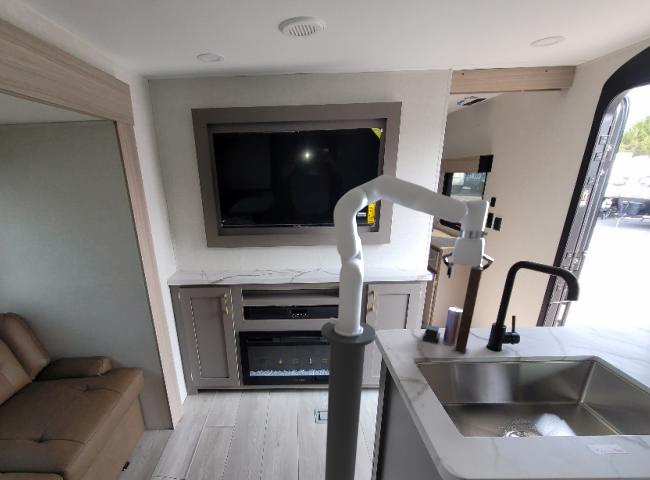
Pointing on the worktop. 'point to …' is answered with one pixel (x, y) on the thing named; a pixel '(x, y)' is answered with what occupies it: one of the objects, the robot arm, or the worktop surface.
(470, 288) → the walnut post
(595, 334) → the worktop surface
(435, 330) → the small pad
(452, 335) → the beverage can
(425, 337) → the wide pad
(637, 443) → the worktop surface
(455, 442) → the worktop surface
